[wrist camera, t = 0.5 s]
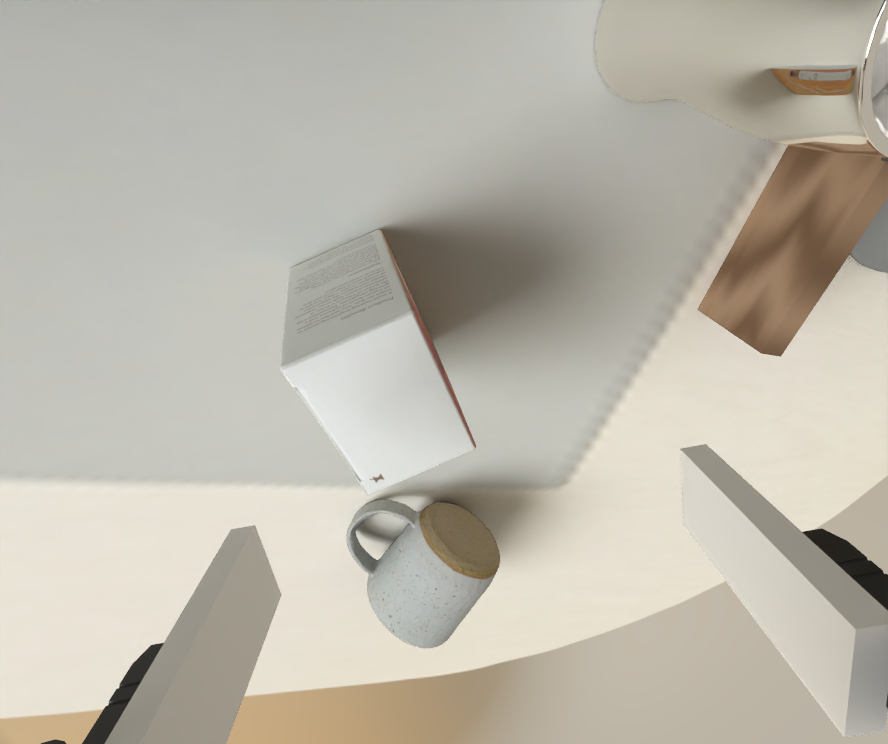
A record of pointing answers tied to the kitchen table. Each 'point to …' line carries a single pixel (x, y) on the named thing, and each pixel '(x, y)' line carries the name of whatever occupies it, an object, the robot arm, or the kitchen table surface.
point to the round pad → (874, 243)
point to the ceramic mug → (427, 570)
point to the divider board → (795, 244)
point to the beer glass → (758, 65)
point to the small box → (369, 365)
